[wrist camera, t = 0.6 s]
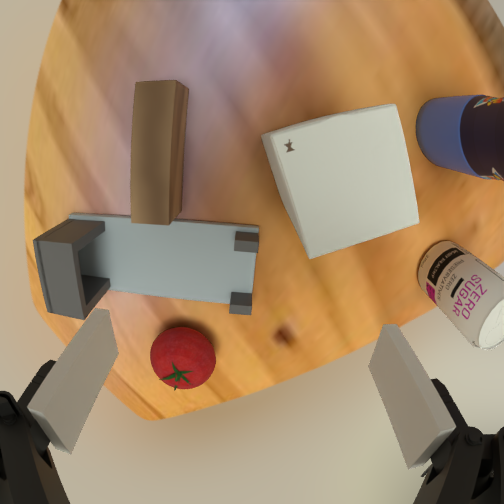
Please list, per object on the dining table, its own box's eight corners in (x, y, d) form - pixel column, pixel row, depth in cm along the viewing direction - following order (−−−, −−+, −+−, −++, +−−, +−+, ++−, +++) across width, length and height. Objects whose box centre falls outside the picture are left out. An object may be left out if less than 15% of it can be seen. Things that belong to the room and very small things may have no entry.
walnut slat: (149, 208, 34) (131, 223, 29) (154, 89, 29) (135, 82, 23) (181, 210, 34) (168, 225, 29) (189, 89, 29) (176, 80, 24)
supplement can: (455, 288, 38) (511, 344, 24) (411, 295, 38) (465, 361, 24) (464, 237, 35) (532, 284, 21) (419, 241, 35) (487, 296, 21)
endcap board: (72, 212, 34) (32, 235, 26) (258, 225, 35) (260, 255, 26) (80, 281, 38) (48, 315, 29) (250, 301, 38) (250, 346, 30)
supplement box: (283, 210, 34) (305, 264, 20) (259, 134, 31) (264, 132, 17) (357, 188, 33) (422, 226, 19) (337, 113, 30) (397, 100, 16)
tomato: (193, 372, 43) (185, 411, 36) (146, 339, 41) (130, 377, 34) (231, 342, 41) (227, 382, 34) (181, 304, 39) (167, 342, 31)
